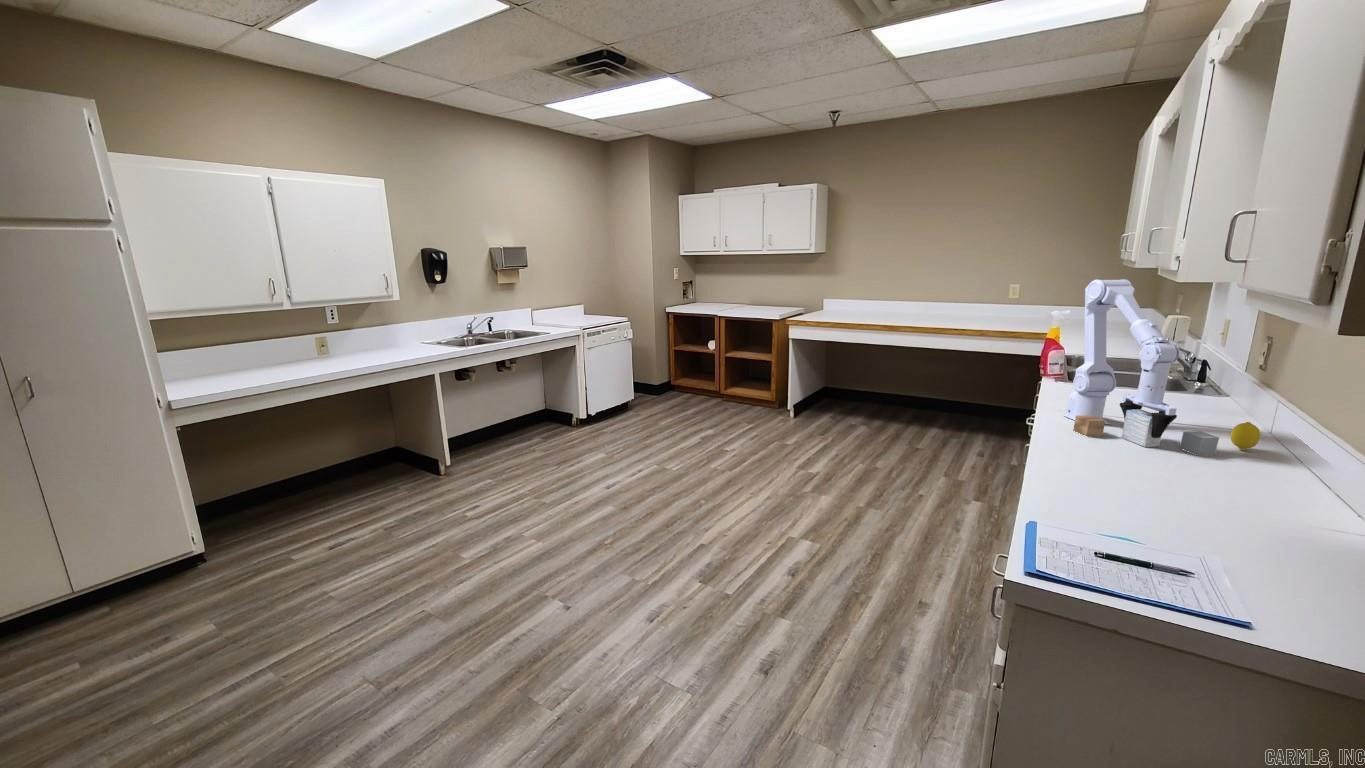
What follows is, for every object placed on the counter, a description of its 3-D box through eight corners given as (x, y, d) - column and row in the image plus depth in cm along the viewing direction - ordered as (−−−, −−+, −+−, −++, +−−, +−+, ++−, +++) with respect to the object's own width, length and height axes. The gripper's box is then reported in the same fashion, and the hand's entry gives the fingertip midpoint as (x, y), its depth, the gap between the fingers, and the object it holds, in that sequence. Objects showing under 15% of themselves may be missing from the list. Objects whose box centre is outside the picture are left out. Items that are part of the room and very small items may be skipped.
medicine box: (1159, 447, 151) (1166, 417, 149) (1144, 447, 151) (1150, 417, 149) (1135, 437, 159) (1141, 408, 157) (1120, 437, 159) (1126, 409, 157)
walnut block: (1073, 431, 165) (1075, 415, 164) (1088, 430, 165) (1091, 415, 164) (1085, 437, 160) (1089, 420, 159) (1102, 436, 160) (1105, 420, 159)
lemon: (1243, 446, 152) (1250, 419, 150) (1261, 454, 146) (1269, 425, 144) (1221, 446, 152) (1228, 418, 150) (1239, 453, 147) (1246, 425, 145)
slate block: (1179, 448, 151) (1183, 431, 149) (1196, 448, 151) (1200, 431, 150) (1197, 455, 146) (1201, 438, 144) (1214, 455, 146) (1219, 437, 145)
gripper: (1116, 379, 158) (1107, 424, 161) (1162, 392, 144) (1152, 441, 147) (1139, 379, 158) (1130, 423, 162) (1187, 392, 144) (1176, 440, 148)
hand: (1142, 432), depth 154 cm, fingers closed on medicine box, 7 cm apart
